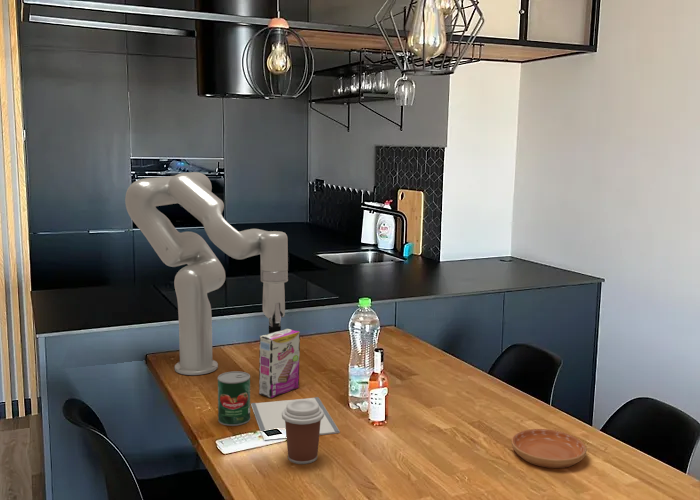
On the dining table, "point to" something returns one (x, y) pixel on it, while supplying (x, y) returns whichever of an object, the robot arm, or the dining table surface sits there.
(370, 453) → the dining table surface
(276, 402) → the mat
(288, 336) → the candy bar box
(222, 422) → the canned tomato
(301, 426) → the coffee cup
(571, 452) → the saucer
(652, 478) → the dining table surface
